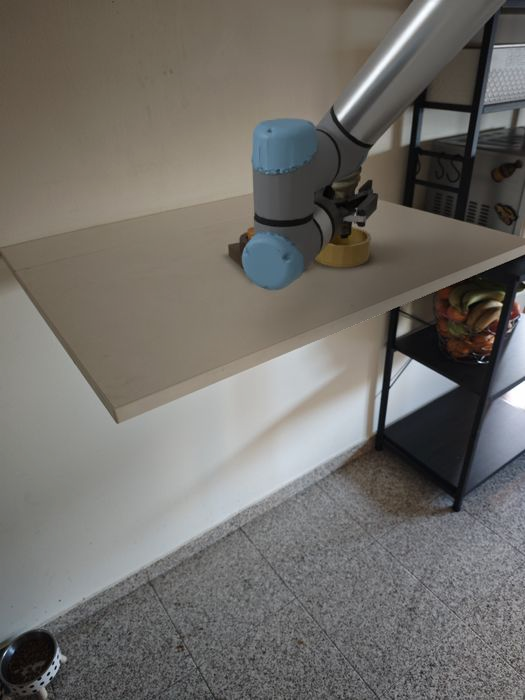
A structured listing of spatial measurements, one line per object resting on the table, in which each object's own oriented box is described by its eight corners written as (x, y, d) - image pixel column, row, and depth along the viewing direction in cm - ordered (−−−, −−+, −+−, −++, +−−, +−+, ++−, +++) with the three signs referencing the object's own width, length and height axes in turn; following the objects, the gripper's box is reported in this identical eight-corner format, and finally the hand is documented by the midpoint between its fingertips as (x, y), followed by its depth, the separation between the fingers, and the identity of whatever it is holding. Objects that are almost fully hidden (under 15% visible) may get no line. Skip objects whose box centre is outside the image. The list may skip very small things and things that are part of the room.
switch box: (301, 269, 88) (301, 248, 86) (254, 280, 85) (254, 258, 83) (271, 247, 97) (271, 227, 95) (228, 255, 94) (227, 235, 92)
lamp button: (270, 240, 90) (270, 231, 89) (252, 244, 89) (252, 234, 88) (262, 234, 93) (262, 225, 92) (244, 237, 92) (244, 228, 91)
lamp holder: (379, 260, 91) (382, 239, 89) (331, 271, 87) (332, 250, 85) (348, 242, 98) (350, 222, 96) (303, 251, 95) (303, 231, 93)
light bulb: (333, 244, 88) (337, 155, 80) (321, 234, 93) (324, 149, 84) (362, 240, 89) (369, 152, 81) (350, 231, 94) (355, 146, 86)
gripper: (253, 242, 78) (306, 200, 96) (367, 260, 72) (401, 212, 89) (252, 194, 74) (307, 160, 92) (373, 209, 68) (407, 169, 85)
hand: (353, 185), depth 90 cm, fingers closed on light bulb, 5 cm apart
